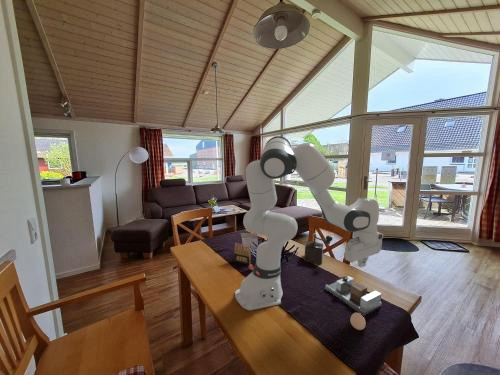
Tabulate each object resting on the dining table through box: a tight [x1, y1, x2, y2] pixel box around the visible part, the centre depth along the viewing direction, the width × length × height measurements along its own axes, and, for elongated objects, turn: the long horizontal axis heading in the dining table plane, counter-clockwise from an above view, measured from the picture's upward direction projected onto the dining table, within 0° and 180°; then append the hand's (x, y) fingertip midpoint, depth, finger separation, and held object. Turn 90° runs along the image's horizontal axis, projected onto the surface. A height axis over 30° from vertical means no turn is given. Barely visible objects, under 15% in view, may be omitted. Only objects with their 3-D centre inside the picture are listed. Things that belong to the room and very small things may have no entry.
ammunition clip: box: [233, 242, 252, 266], centre depth 127 cm, size 11×2×12 cm, turn 65°
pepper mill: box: [303, 233, 334, 265], centre depth 130 cm, size 16×11×18 cm
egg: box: [350, 312, 367, 331], centre depth 79 cm, size 5×5×6 cm
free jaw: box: [335, 275, 355, 294], centre depth 99 cm, size 9×2×6 cm, turn 118°
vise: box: [324, 281, 382, 317], centre depth 96 cm, size 12×20×6 cm, turn 28°
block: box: [350, 282, 368, 304], centre depth 93 cm, size 4×4×6 cm
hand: (361, 266), depth 91 cm, fingers closed
